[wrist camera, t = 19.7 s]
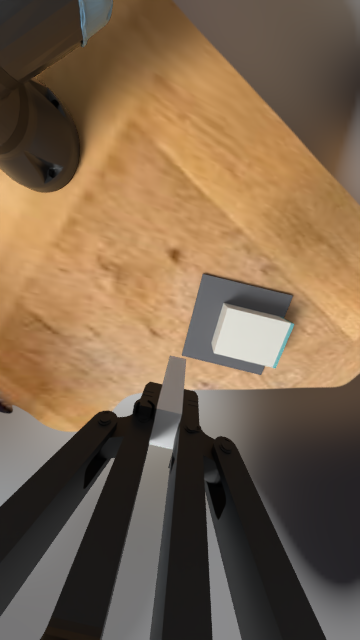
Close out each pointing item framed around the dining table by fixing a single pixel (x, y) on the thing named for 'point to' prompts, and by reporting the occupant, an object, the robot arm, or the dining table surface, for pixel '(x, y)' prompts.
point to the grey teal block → (251, 335)
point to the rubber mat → (209, 311)
